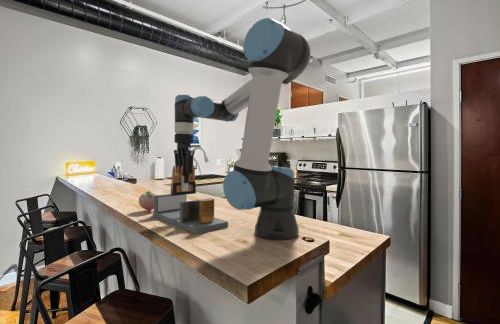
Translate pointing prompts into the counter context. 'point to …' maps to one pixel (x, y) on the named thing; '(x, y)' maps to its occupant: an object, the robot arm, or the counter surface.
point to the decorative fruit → (147, 201)
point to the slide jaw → (197, 210)
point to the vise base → (170, 212)
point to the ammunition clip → (177, 182)
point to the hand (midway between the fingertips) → (183, 190)
